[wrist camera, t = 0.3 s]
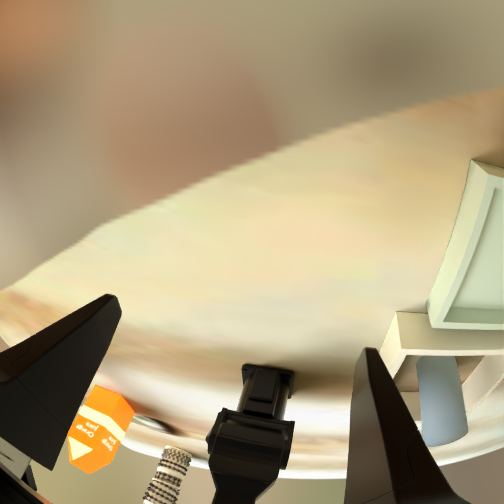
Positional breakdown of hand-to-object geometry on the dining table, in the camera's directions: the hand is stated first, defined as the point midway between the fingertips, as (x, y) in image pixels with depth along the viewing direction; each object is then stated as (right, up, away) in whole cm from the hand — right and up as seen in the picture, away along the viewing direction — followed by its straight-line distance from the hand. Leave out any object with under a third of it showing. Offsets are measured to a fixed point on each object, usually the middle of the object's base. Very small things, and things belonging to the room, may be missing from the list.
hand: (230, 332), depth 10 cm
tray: (+23, +3, +9) cm, 25 cm away
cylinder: (+22, -10, +19) cm, 31 cm away
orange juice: (-30, -31, +48) cm, 65 cm away
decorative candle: (-21, -56, +63) cm, 86 cm away
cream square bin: (+22, -10, +19) cm, 31 cm away
